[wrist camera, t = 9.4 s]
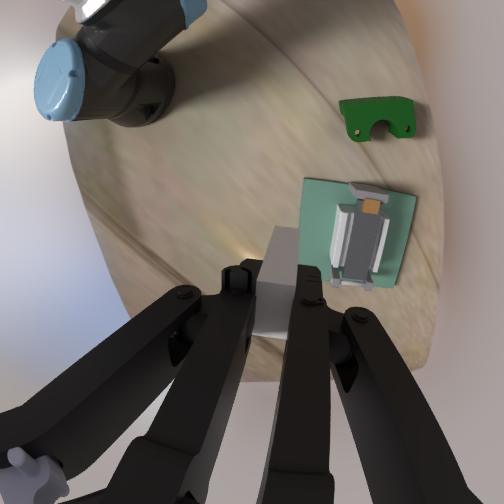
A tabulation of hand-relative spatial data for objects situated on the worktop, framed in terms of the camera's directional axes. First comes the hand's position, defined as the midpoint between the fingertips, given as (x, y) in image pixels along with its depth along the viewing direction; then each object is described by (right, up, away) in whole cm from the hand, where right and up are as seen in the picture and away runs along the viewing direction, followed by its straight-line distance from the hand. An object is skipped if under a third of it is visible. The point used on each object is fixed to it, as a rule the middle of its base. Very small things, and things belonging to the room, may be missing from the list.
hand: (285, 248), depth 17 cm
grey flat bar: (+15, +2, +23) cm, 28 cm away
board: (+16, +3, +29) cm, 34 cm away
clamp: (+18, +22, +21) cm, 35 cm away
